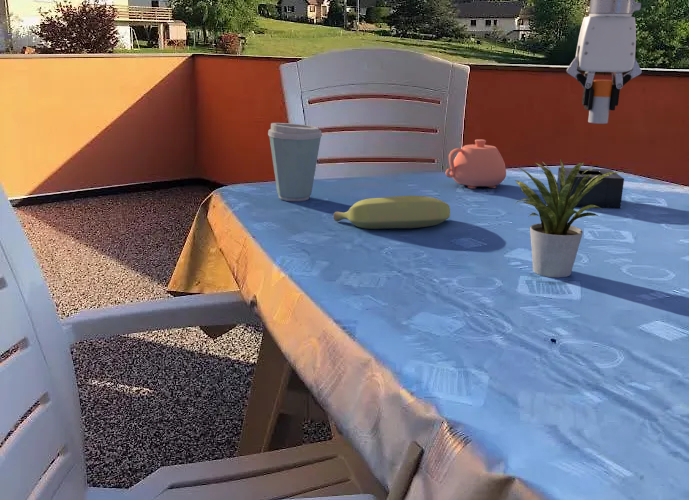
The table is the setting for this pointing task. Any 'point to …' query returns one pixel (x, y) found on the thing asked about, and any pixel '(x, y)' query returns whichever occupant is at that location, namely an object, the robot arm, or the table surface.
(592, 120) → the orange-capped white cylinder
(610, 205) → the holder
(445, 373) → the table surface
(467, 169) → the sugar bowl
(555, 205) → the house plant
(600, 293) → the table surface
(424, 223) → the banana
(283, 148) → the disposable coffee cup
